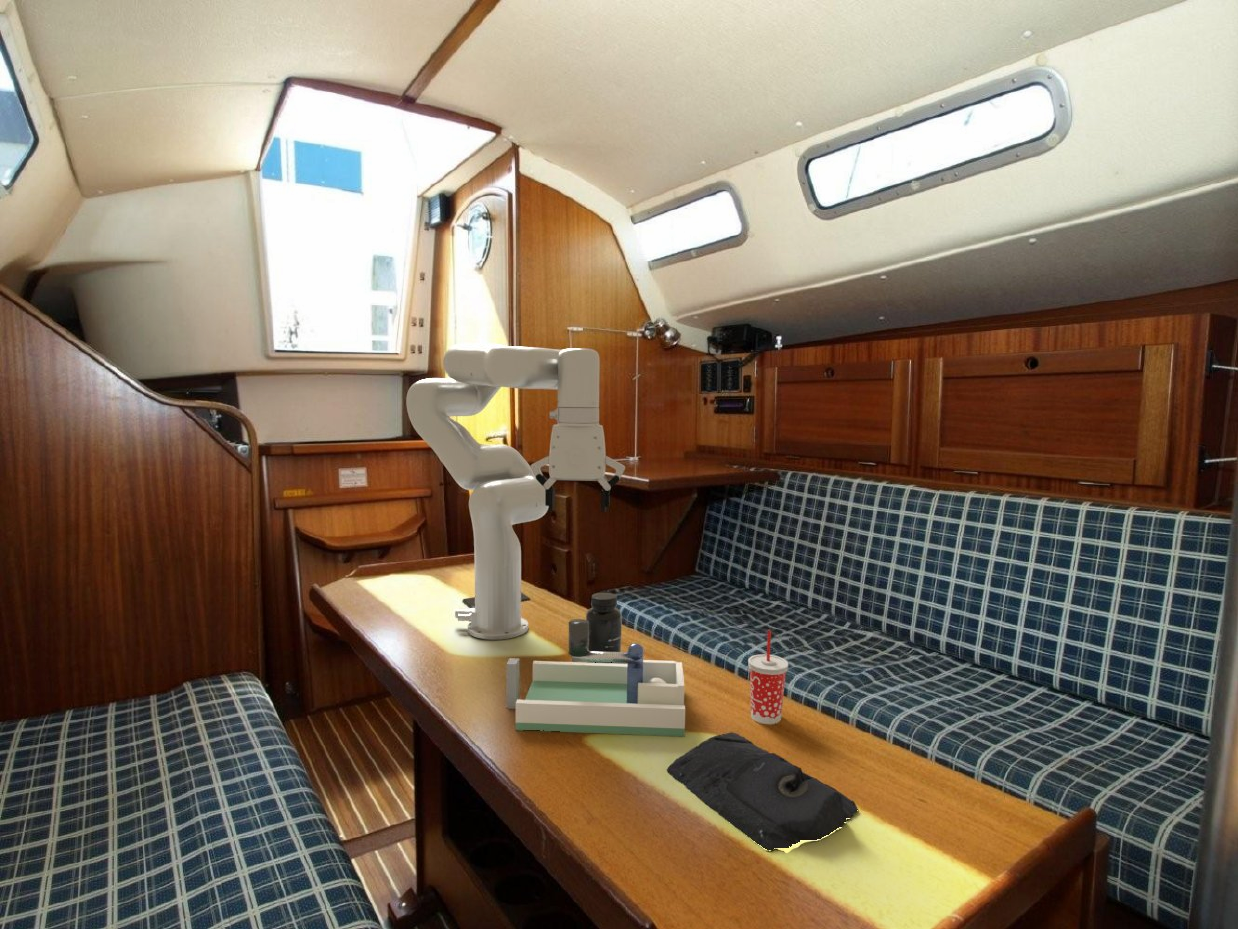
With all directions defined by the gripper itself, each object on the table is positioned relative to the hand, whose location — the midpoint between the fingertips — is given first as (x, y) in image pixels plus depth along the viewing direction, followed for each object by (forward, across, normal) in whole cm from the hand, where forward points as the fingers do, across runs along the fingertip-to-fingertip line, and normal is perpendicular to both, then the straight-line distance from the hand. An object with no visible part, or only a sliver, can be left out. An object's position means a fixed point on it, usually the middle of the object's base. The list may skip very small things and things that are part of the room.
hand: (577, 510), depth 126 cm
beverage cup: (+28, +32, -21) cm, 48 cm away
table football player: (+27, +7, -20) cm, 34 cm away
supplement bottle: (+28, +5, +1) cm, 29 cm away
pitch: (+28, +5, -20) cm, 35 cm away
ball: (+25, +15, -20) cm, 35 cm away
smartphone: (+29, -23, +34) cm, 50 cm away
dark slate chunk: (+29, +28, -41) cm, 57 cm away
